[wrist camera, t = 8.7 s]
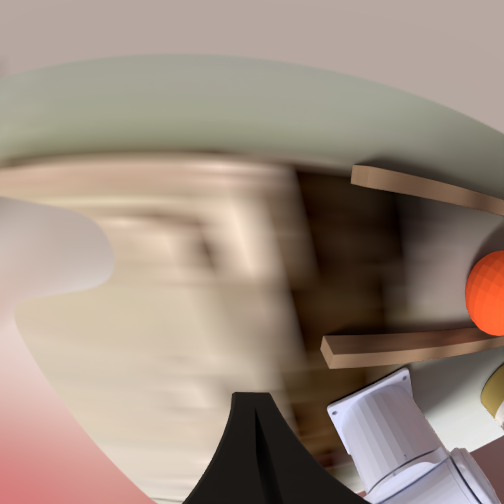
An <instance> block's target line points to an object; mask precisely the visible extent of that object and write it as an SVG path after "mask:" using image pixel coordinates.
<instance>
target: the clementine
mask: <svg viewBox="0 0 504 504" xmlns="http://www.w3.org/2000/svg"><path fill="white" fill-rule="evenodd" d="M465 298H466V307H467V310H468V313H469V315H470V317H471V320H472V321H473V322H474V323H475V324H476V325H477V326H478V327H479V329H480V330H482V331H484V332H486V333H488V334H491V335H497V336H502V335H504V250H501V251H495V252H492V253H489V254H488V255H486V256H485V257H483V258H482V259H480V260H479V261H478V262H477V264H476V265H475V266H474V268H473V269H472V271H471V273H470V275H469V277H468V280H467V284H466V289H465Z"/></svg>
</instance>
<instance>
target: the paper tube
mask: <svg viewBox="0 0 504 504" xmlns="http://www.w3.org/2000/svg"><path fill="white" fill-rule="evenodd" d="M481 403H482V405H483V406H484V407H485V408H486V409H487V411H488V412H489V413H490V414H491V415H492V416H493V418H494V419H495V420H496V421H497V423H498V424H499V425H500V426H501V427H502V428H503V430H504V365H503V366H501V367H500V368H499V369H498V370H497V371H496V372H495V373H494V374H493V375H492V376H491V377H490V379H489V380H488V382H487V383H486V385H485V387H484V388H483V391H482V394H481Z"/></svg>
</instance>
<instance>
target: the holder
mask: <svg viewBox="0 0 504 504" xmlns="http://www.w3.org/2000/svg"><path fill="white" fill-rule="evenodd" d="M351 184H356V185H360V186H364V187H369V188H375V189H381V190H387V191H392V192H398V193H403V194H409V195H414V196H419V197H424V198H429V199H434V200H438V201H443V202H448V203H452V204H457V205H461V206H465V207H470V208H474V209H478V210H482V211H486V212H490V213H494V214H498V215H501V216H504V200H501V199H498V198H495V197H492V196H489V195H485V194H482V193H479V192H475V191H472V190H468V189H465V188H461V187H457V186H454V185H450V184H446V183H442V182H438V181H434V180H430V179H426V178H422V177H418V176H413V175H409V174H404V173H400V172H395V171H390V170H385V169H380V168H375V167H370V166H359V165H353V169H352V178H351ZM502 346H504V335H502V336H497V335H491V334H488V333H486V332H484V331H482V330H480V329H479V327H470V328H461V329H451V330H440V331H428V332H414V333H398V334H377V335H343V336H323V341H322V345H321V351H322V353H323V356H324V358H325V360H326V362H327V364H328V366H329V368H330V369H335V368H353V367H367V366H379V365H390V364H399V363H408V362H416V361H424V360H431V359H438V358H445V357H451V356H457V355H463V354H468V353H473V352H479V351H484V350H488V349H493V348H498V347H502Z"/></svg>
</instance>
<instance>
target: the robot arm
mask: <svg viewBox="0 0 504 504" xmlns="http://www.w3.org/2000/svg"><path fill="white" fill-rule="evenodd" d="M327 411H328V413H329V415H330V417H331V419H332V421H333V423H334V425H335V427H336V429H337V431H338V433H339V435H340V438H341V440H342V442H343V444H344V446H345V448H346V450H347V452H348V454H351V455H352V458H353V460H354V463H355V465H356V468H357V470H358V473H359V476H360V478H361V481H362V483H363V486H364V488H365V491H366V493H367V495H366V496H365V497H363V498H362V497H360V496H359V495H357V494H356V493H354V492H353V491H351V490H350V489H349V488H347V487H346V486H345V485H343V484H342V483H341V482H340V481H338V480H337V479H336V478H334V477H333V476H332V475H331V474H330V473H329V472H328V471H327V470H326V469H324V468H323V467H322V466H321V465H320V464H319V463H318V462H317V461H316V459H315V458H314V457H313V456H312V455H311V454H310V453H309V452H308V451H307V449H306V448H305V447H304V446H303V445H302V443H301V442H300V441H299V439H298V438H297V437H296V435H295V434H294V433H293V431H292V430H291V428H290V427H289V425H288V424H287V422H286V421H285V419H284V418H283V416H282V414H281V413H280V411H279V409H278V408H277V406H276V404H275V402H274V400H273V398H272V396H271V394H269V393H255V392H235V393H233V394H232V399H231V410H230V414H229V418H228V421H227V424H226V427H225V430H224V433H223V436H222V438H221V440H220V443H219V445H218V447H217V450H216V452H215V454H214V456H213V458H212V460H211V462H210V463H209V465H208V467H207V469H206V470H205V472H204V474H203V475H202V477H201V479H200V480H199V482H198V483H197V485H196V486H195V488H194V489H193V490H192V492H191V493H190V494H189V496H188V497H187V498H186V500H185V501H184V502H183V503H182V504H501V502H500V501H499V499H498V497H497V496H496V493H495V491H494V489H493V487H492V486H491V484H490V482H489V481H488V479H487V477H486V476H485V474H484V473H483V472H482V470H481V469H480V467H479V466H478V465H477V463H476V462H475V460H474V459H473V457H472V456H471V455H470V454H469V452H468V451H467V450H466V449H465V448H460V449H459V448H454V449H453V450H452V451H451V452H449V451H448V450H447V449H446V448H445V446H444V445H443V443H442V442H441V440H440V439H439V437H438V436H437V434H436V433H435V431H434V430H433V428H432V427H431V425H430V424H429V422H428V421H427V419H426V418H425V416H424V415H423V413H422V412H421V411H420V409H419V408H418V406H417V405H416V403H415V402H414V400H413V394H412V387H411V380H410V374H409V370H408V369H407V368H402V369H400V370H399V371H397V372H395V373H393V374H391V375H389V376H388V377H386V378H384V379H382V380H380V381H378V382H376V383H374V384H372V385H370V386H368V387H366V388H364V389H362V390H360V391H358V392H356V393H354V394H352V395H350V396H348V397H346V398H344V399H341V400H339V401H337V402H335V403H333V404H330V405H329V406H328V407H327ZM334 411H335V412H334Z"/></svg>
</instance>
